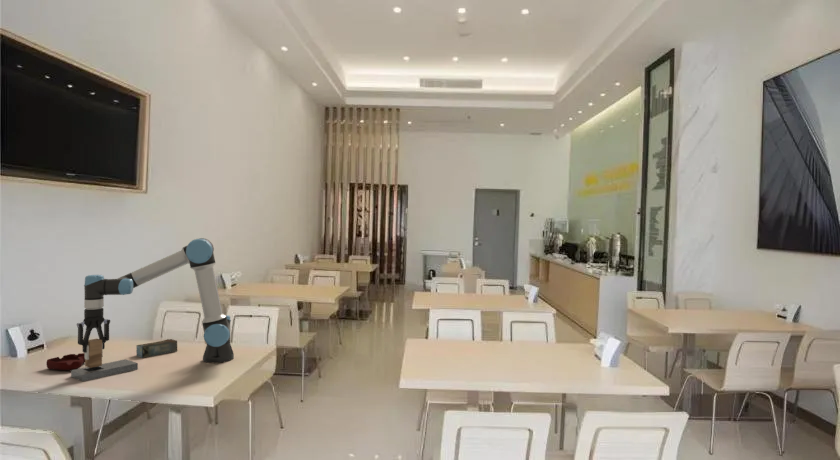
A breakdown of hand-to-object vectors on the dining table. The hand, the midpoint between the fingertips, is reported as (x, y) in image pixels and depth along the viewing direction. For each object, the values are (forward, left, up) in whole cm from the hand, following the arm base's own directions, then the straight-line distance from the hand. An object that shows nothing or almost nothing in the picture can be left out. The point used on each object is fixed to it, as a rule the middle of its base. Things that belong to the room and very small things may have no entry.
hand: (93, 357), depth 234 cm
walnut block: (0, 0, -4) cm, 4 cm away
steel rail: (0, -5, -8) cm, 10 cm away
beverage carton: (+16, -38, -9) cm, 43 cm away
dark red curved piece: (+25, +2, -9) cm, 26 cm away
